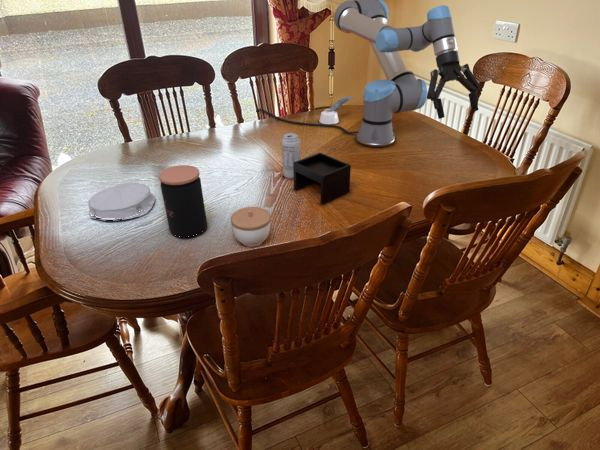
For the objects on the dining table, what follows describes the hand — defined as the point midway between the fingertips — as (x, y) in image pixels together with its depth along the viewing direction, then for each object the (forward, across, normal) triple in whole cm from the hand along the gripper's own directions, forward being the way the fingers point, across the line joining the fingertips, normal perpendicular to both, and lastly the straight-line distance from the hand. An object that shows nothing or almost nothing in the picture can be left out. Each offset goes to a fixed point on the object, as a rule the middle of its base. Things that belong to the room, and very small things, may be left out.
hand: (458, 114), depth 157 cm
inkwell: (-15, -22, +59) cm, 64 cm away
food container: (+6, -116, +12) cm, 117 cm away
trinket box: (+24, -82, -15) cm, 87 cm away
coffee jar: (+17, -98, -5) cm, 100 cm away
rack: (+15, -54, +4) cm, 56 cm away
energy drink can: (+8, -60, +16) cm, 62 cm away
